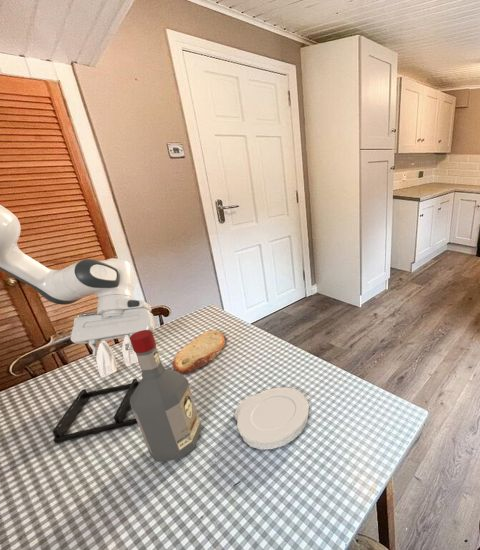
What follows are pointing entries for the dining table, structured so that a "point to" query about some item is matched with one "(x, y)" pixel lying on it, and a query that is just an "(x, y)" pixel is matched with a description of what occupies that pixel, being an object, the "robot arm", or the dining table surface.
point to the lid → (272, 417)
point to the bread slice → (199, 352)
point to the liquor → (163, 404)
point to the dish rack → (118, 417)
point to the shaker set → (113, 357)
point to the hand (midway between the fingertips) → (113, 352)
